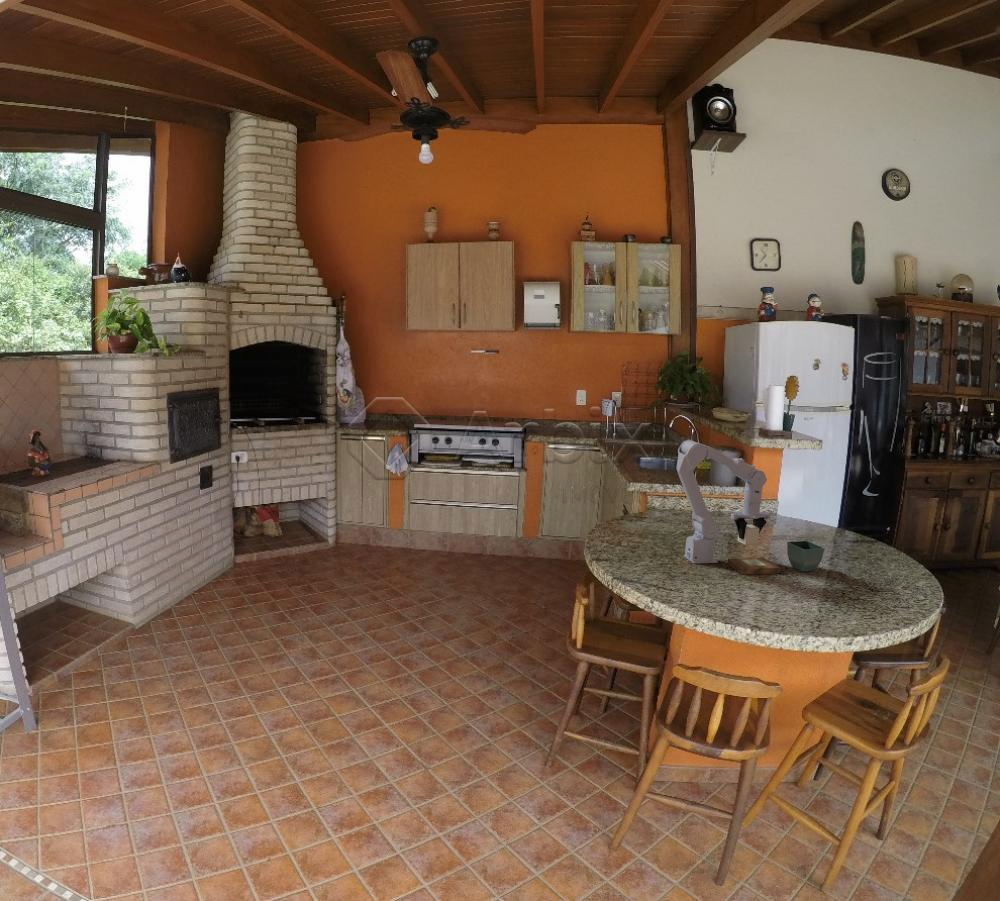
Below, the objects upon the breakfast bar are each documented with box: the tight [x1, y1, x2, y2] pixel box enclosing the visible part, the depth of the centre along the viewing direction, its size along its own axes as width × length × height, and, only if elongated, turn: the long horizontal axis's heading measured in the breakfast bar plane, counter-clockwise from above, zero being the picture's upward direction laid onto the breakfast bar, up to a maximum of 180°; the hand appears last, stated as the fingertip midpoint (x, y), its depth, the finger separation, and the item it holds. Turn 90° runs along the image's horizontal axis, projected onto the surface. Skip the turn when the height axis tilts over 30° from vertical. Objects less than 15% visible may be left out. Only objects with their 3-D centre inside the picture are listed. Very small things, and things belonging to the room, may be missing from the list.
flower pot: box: [786, 540, 826, 573], centre depth 222 cm, size 9×9×9 cm
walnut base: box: [726, 557, 781, 575], centre depth 221 cm, size 14×10×2 cm
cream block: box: [737, 524, 760, 546], centre depth 228 cm, size 5×5×6 cm
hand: (748, 538), depth 228 cm, fingers closed on cream block, 5 cm apart
